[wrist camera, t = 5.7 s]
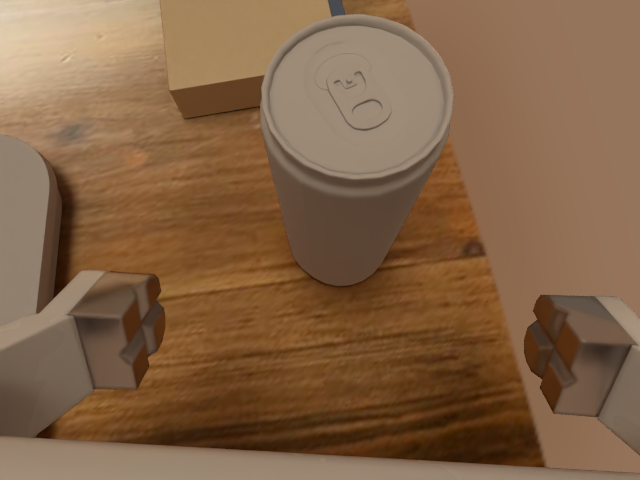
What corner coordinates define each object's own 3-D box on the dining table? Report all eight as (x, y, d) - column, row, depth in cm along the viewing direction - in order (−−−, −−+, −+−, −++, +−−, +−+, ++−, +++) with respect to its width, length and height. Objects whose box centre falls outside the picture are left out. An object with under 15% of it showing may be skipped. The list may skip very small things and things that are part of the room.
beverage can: (358, 180, 23) (395, -17, 11) (405, 261, 22) (501, 130, 10) (273, 220, 22) (222, 53, 11) (316, 306, 21) (311, 220, 9)
